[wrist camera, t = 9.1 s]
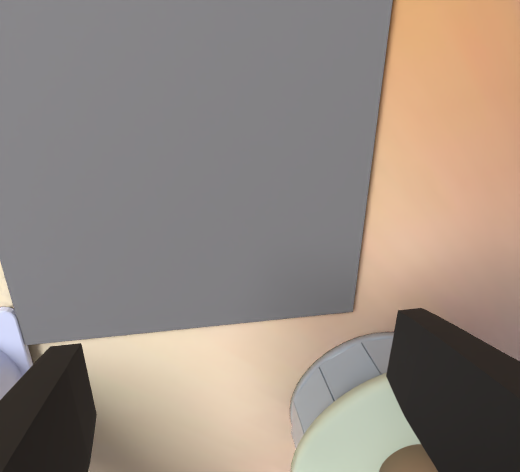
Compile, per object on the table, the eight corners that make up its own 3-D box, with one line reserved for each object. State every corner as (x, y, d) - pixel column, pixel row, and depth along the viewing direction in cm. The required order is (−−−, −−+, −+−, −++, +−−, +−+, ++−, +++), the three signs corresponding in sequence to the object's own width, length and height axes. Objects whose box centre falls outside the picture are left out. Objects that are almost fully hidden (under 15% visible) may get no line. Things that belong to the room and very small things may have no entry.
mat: (28, 338, 19) (24, 345, 19) (-90, -80, 12) (-100, -85, 12) (349, 306, 22) (352, 311, 21) (393, -52, 15) (399, -55, 15)
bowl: (286, 465, 26) (303, 530, 23) (293, 342, 22) (315, 398, 19) (426, 442, 28) (463, 499, 24) (458, 323, 24) (507, 372, 20)
